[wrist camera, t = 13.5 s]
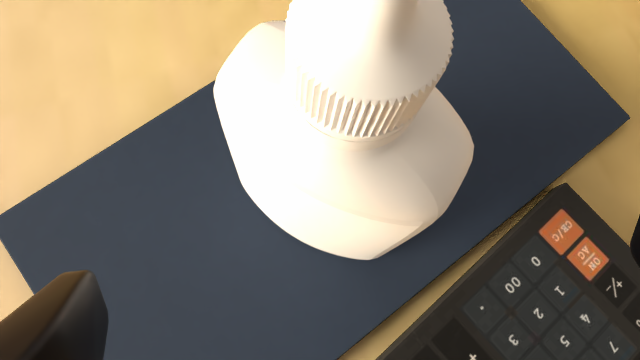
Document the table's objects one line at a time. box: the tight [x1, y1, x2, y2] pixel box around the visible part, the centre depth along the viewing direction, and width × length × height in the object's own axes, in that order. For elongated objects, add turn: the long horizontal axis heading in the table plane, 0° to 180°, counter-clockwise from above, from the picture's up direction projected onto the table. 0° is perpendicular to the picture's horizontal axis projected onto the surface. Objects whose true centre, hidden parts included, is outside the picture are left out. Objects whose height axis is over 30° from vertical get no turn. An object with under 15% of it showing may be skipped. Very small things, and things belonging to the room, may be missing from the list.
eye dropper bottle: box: [214, 0, 474, 260], centre depth 11 cm, size 4×6×12 cm
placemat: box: [0, 0, 630, 360], centre depth 18 cm, size 21×10×1 cm, turn 127°
